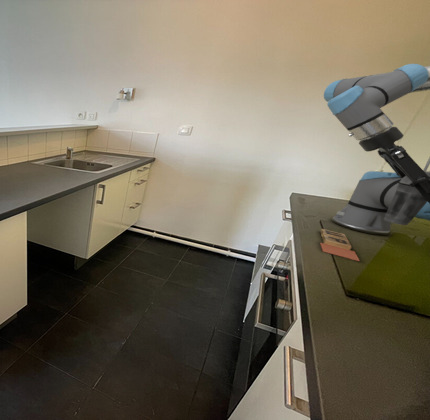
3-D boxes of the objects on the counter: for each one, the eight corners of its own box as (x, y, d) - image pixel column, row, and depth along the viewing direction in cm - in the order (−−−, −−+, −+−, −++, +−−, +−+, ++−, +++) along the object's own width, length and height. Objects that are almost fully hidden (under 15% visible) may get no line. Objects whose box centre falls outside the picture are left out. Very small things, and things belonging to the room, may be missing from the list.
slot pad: (320, 243, 85) (320, 242, 85) (354, 251, 80) (354, 251, 80) (322, 251, 79) (323, 251, 79) (359, 261, 75) (359, 261, 74)
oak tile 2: (322, 238, 89) (324, 234, 88) (346, 244, 85) (348, 240, 84) (324, 244, 84) (326, 239, 84) (349, 250, 81) (352, 246, 80)
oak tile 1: (319, 232, 94) (321, 228, 93) (342, 237, 90) (344, 233, 89) (321, 237, 89) (323, 233, 89) (345, 243, 86) (348, 239, 85)
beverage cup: (424, 228, 71) (471, 159, 63) (393, 225, 72) (437, 157, 64) (396, 218, 77) (437, 155, 70) (369, 215, 78) (406, 153, 71)
